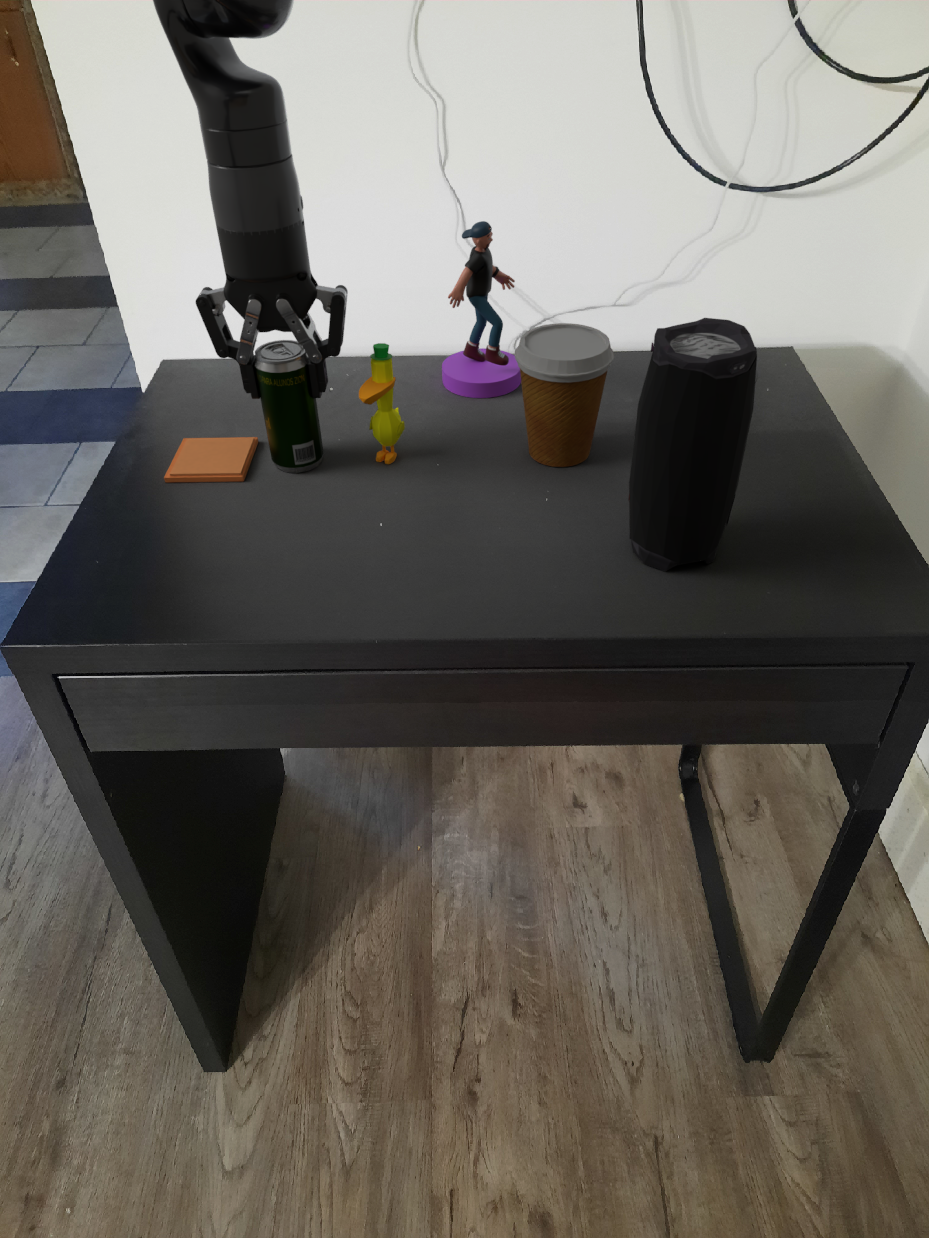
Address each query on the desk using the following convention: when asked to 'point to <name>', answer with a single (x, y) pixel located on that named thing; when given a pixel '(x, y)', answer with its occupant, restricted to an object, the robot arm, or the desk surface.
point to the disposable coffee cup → (562, 389)
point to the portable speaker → (690, 440)
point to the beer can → (288, 406)
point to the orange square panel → (212, 460)
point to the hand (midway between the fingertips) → (288, 394)
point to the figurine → (481, 328)
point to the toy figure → (382, 402)
